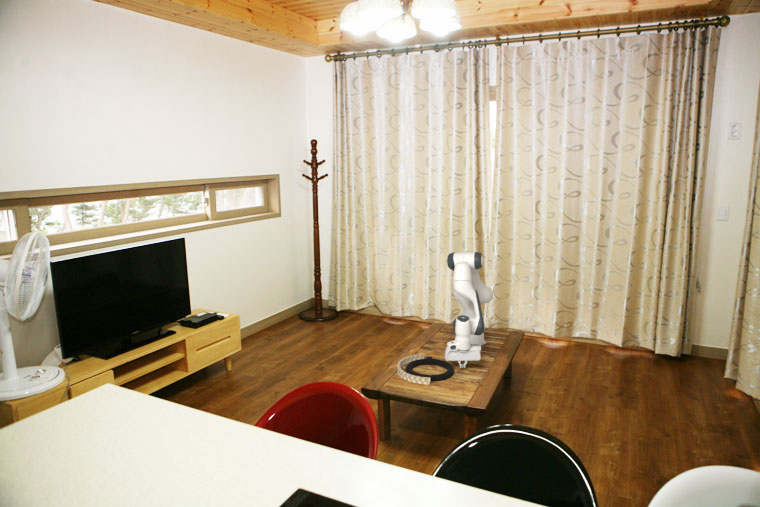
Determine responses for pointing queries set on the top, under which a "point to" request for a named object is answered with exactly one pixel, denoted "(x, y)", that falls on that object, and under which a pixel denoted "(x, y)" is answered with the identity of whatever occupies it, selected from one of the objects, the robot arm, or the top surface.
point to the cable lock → (433, 362)
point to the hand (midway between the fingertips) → (462, 367)
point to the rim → (408, 376)
